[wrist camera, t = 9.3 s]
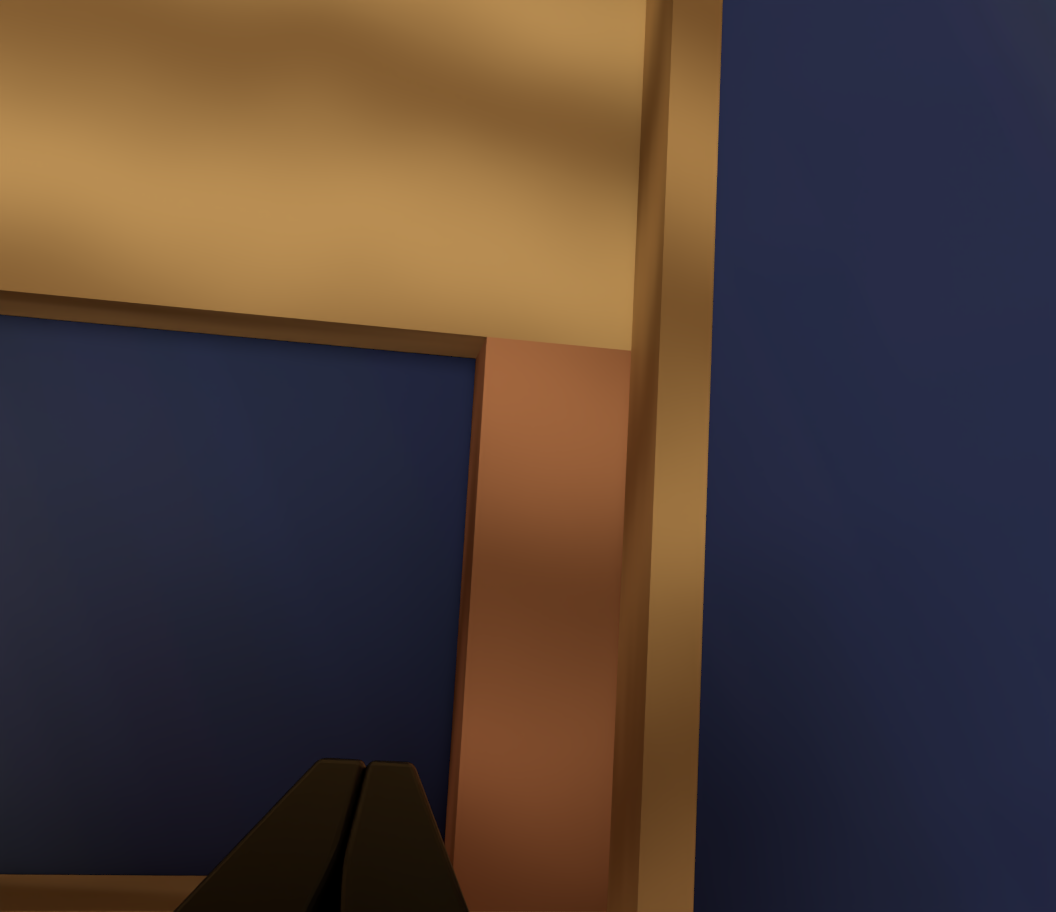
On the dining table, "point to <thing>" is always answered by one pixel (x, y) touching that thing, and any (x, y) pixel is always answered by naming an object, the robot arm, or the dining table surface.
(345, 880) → the robot arm
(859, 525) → the dining table surface
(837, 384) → the dining table surface
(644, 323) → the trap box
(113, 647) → the dining table surface
